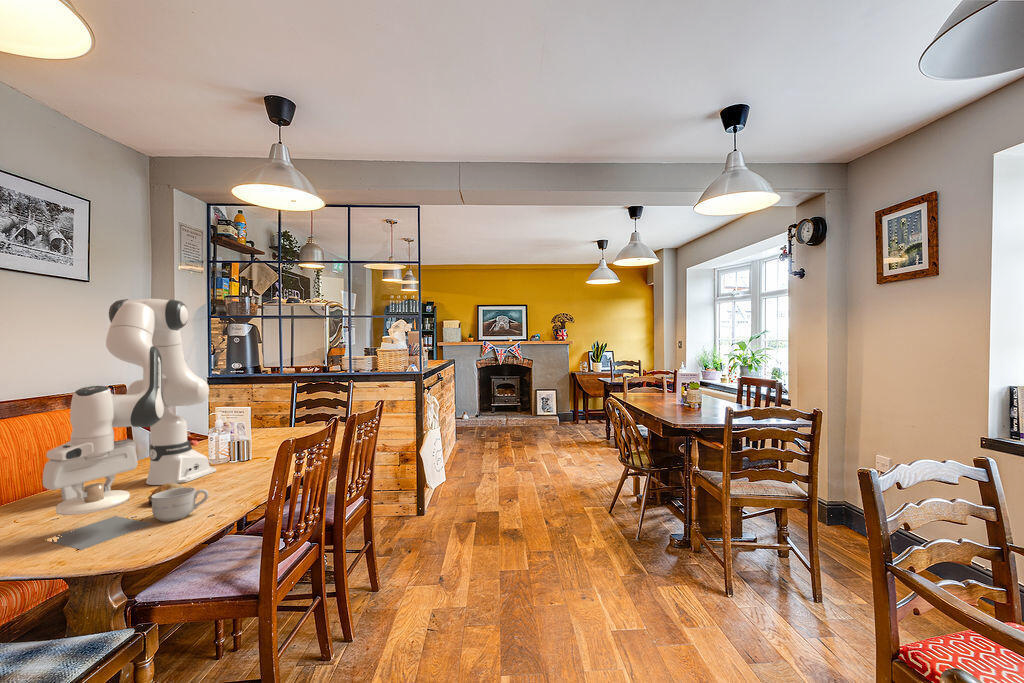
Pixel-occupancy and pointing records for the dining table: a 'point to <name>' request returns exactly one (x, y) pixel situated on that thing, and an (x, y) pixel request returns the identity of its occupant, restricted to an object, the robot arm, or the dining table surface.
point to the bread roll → (164, 489)
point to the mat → (99, 532)
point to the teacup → (175, 503)
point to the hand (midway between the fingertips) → (94, 495)
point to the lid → (93, 501)
